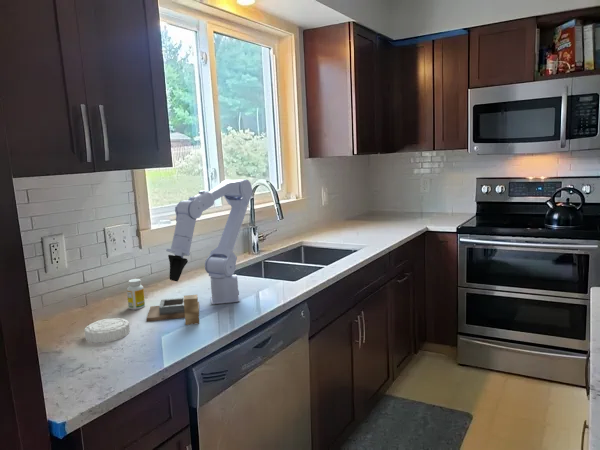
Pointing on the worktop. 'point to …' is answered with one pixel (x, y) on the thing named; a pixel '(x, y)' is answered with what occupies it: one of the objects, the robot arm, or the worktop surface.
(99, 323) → the mooncake
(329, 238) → the worktop surface
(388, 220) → the worktop surface
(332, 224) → the worktop surface
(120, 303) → the worktop surface
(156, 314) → the socket board
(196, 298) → the peg
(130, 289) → the supplement bottle
